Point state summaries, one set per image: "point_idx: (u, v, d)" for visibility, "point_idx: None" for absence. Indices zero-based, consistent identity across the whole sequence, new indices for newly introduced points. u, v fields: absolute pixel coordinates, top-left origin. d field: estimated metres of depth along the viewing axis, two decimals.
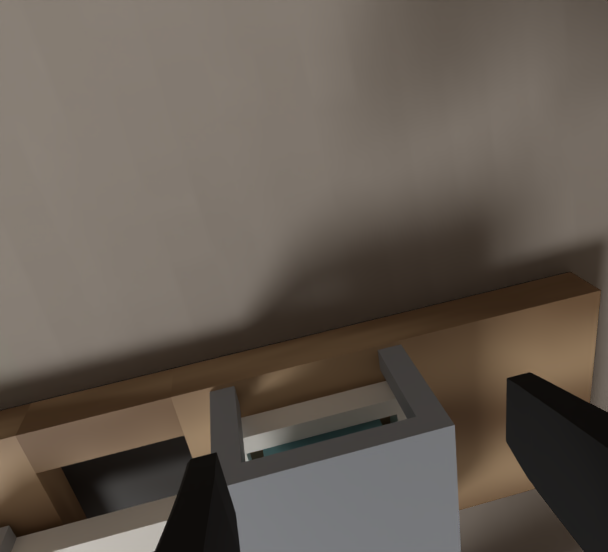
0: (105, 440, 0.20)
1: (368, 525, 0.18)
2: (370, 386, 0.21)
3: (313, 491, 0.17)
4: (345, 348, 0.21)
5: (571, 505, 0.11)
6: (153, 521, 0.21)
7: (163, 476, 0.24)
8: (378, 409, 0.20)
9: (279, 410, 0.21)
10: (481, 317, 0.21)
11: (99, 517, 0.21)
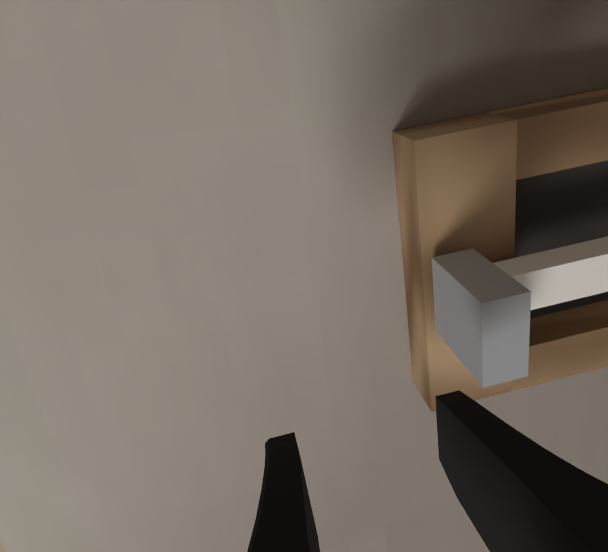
0: (599, 140, 0.17)
1: None
2: None
3: None
4: None
5: (491, 528, 0.11)
6: None
7: (581, 233, 0.21)
8: None
9: None
10: None
11: (564, 247, 0.18)
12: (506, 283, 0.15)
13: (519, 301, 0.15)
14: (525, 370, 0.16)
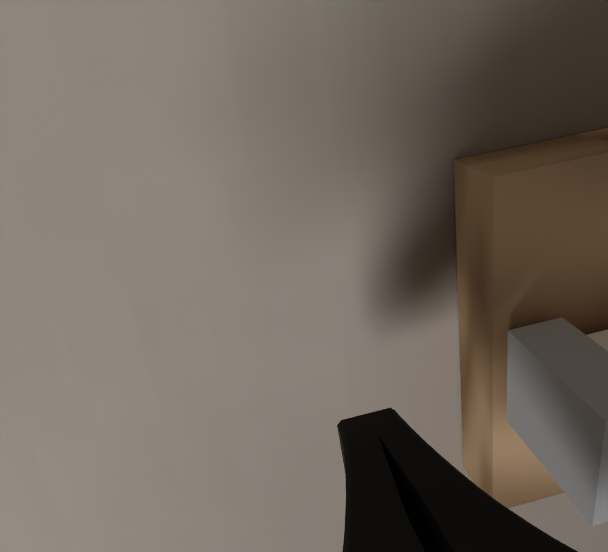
0: None
1: None
2: None
3: None
4: None
5: None
6: None
7: None
8: None
9: None
10: None
11: None
12: None
13: None
14: None
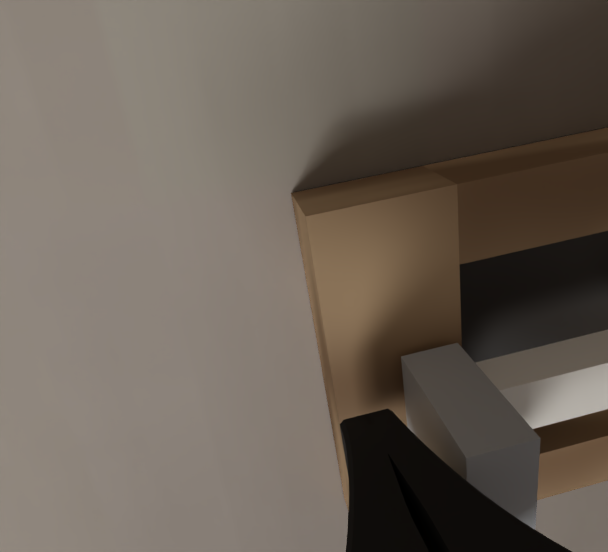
0: (576, 209, 0.12)
1: None
2: None
3: None
4: None
5: None
6: None
7: (558, 316, 0.16)
8: None
9: None
10: None
11: (583, 338, 0.13)
12: (503, 417, 0.10)
13: (523, 451, 0.10)
14: None
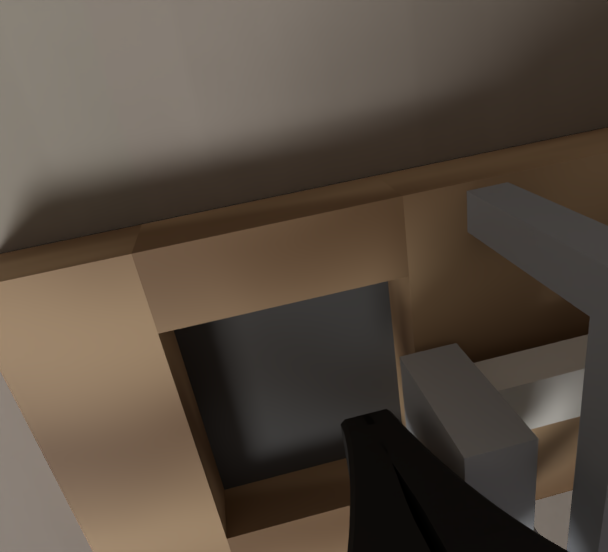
0: (281, 275, 0.12)
1: None
2: None
3: None
4: None
5: None
6: None
7: (331, 371, 0.15)
8: None
9: None
10: None
11: (582, 338, 0.13)
12: (502, 417, 0.10)
13: (521, 452, 0.10)
14: None
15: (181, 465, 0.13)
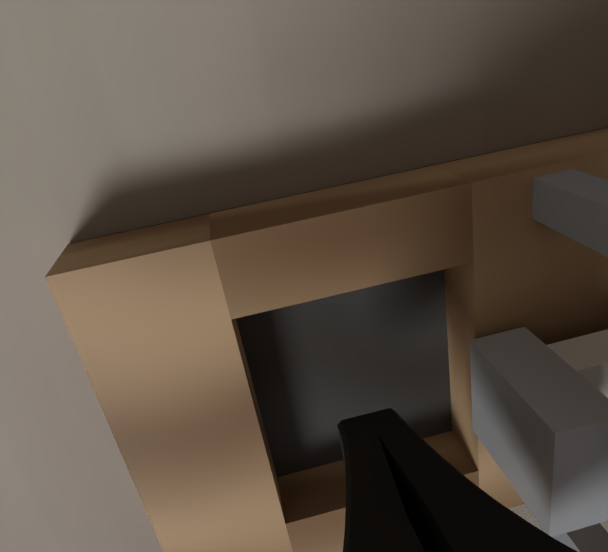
0: (351, 262, 0.12)
1: None
2: None
3: None
4: None
5: None
6: None
7: (385, 359, 0.15)
8: None
9: None
10: None
11: None
12: (585, 395, 0.11)
13: None
14: None
15: (246, 450, 0.13)
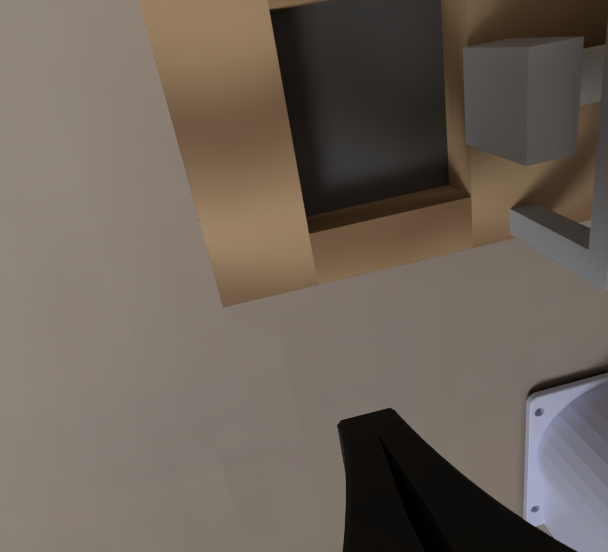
0: None
1: None
2: None
3: None
4: None
5: None
6: None
7: (392, 102, 0.18)
8: None
9: None
10: None
11: None
12: (553, 39, 0.13)
13: (570, 48, 0.13)
14: (573, 146, 0.14)
15: (278, 149, 0.16)
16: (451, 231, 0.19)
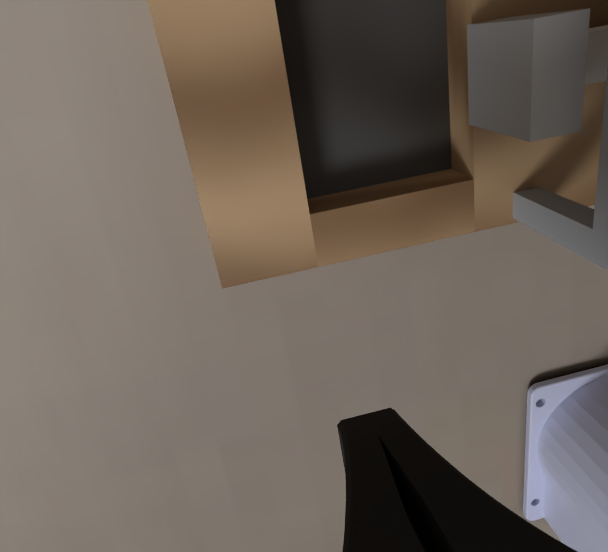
0: None
1: None
2: None
3: None
4: None
5: None
6: None
7: (395, 82, 0.18)
8: None
9: None
10: None
11: None
12: (559, 12, 0.13)
13: (577, 21, 0.13)
14: (577, 123, 0.14)
15: (279, 126, 0.16)
16: (453, 214, 0.18)
